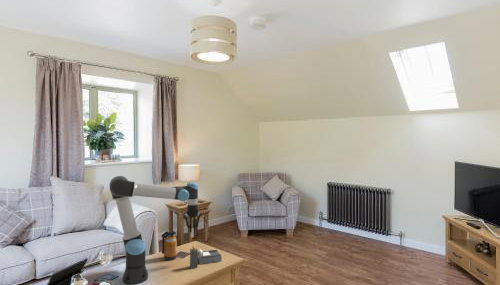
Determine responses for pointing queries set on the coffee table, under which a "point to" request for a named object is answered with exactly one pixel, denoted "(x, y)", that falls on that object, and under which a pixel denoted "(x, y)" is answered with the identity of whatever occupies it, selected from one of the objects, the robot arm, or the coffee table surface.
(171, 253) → the canister
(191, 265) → the plug
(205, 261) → the socket
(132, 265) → the robot arm
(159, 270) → the coffee table surface
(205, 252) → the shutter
